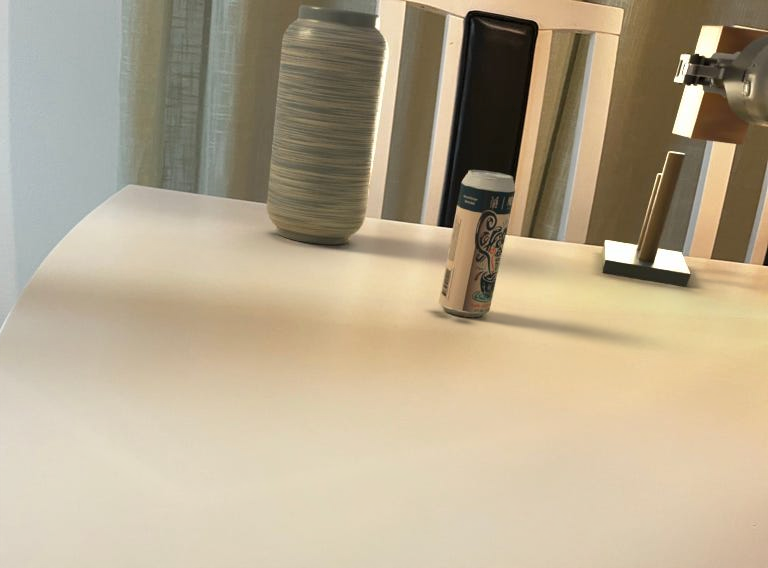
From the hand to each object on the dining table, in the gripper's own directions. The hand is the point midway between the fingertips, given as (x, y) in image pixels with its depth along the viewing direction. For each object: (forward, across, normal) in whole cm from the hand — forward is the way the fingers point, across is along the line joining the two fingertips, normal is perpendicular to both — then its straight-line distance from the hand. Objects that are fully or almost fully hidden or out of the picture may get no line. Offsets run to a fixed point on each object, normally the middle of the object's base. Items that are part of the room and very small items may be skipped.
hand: (716, 73), depth 105 cm
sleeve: (-2, 0, +6) cm, 6 cm away
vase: (+7, +40, +22) cm, 46 cm away
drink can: (-23, +26, +22) cm, 42 cm away
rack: (+12, -2, +22) cm, 25 cm away
